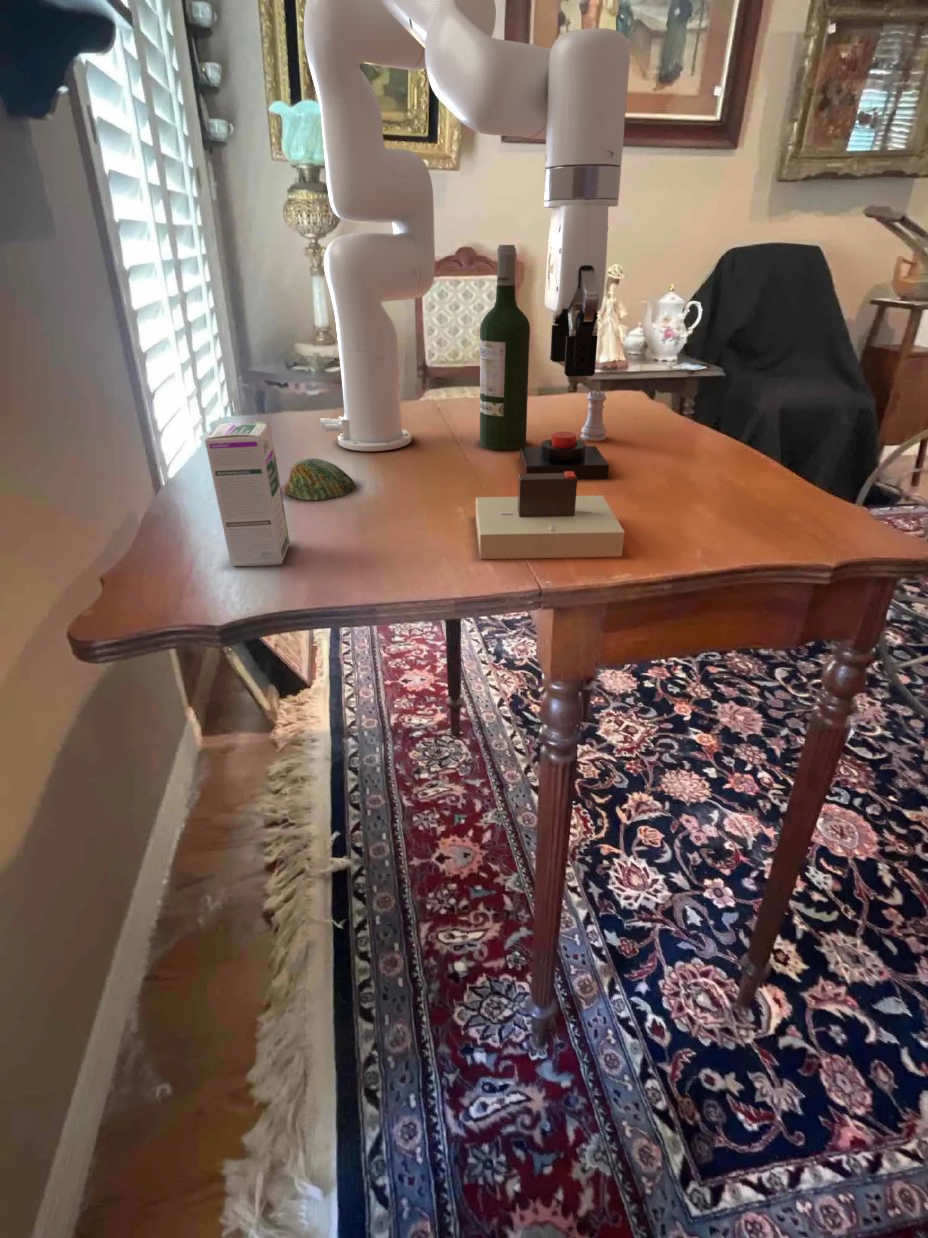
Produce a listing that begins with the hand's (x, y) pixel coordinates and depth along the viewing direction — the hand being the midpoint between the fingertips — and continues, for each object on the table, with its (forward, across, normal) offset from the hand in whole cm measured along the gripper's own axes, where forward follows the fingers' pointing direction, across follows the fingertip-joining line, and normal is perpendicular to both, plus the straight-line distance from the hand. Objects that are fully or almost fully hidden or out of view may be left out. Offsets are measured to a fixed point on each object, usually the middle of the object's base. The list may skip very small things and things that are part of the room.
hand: (571, 367), depth 78 cm
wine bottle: (+18, -35, -4) cm, 40 cm away
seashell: (+18, -15, -33) cm, 40 cm away
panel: (+18, +5, -3) cm, 19 cm away
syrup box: (+18, +8, -36) cm, 41 cm away
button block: (+18, -21, +4) cm, 28 cm away
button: (+15, -21, +4) cm, 26 cm away
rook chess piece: (+18, -38, +12) cm, 44 cm away
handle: (+15, +5, -3) cm, 16 cm away
